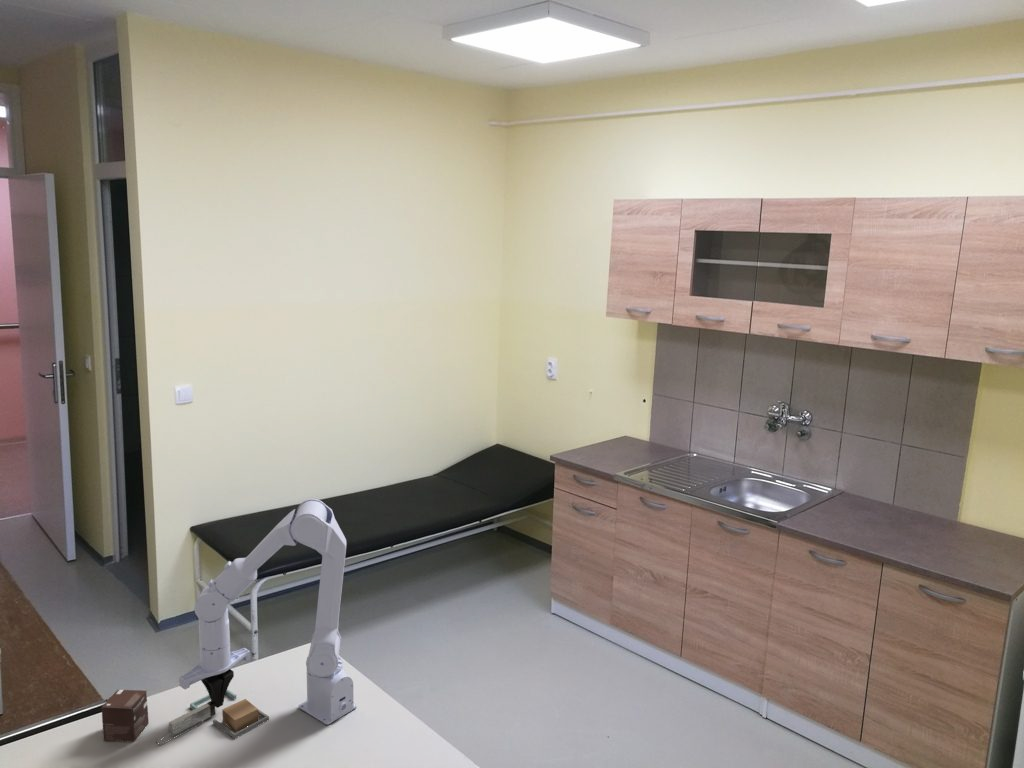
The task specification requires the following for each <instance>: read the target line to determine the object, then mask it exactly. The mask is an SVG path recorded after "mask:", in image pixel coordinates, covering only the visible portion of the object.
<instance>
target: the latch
mask: <svg viewBox="0 0 1024 768" xmlns="http://www.w3.org/2000/svg"><path fill="white" fill-rule="evenodd" d="M215 715H216V707H215V703H214V702H212V701H211V700H210V701H208V702H206V703H205V704H202V705H201V706H199V707H198V708H197V709H194V710H193V709H192V710H190V711H189V712H186V713H185V714H182V715H180V716H178V717H177V718H174V719H172V720H171V721H169V722H168V727H169V729H168V730H169V731H168V732H169V734H171V735H172V736H173V735H175V734H177V733H179V732H181V731H183V730H185V729H187V728H189V727H191V726H193V725H195V724H197V723H199V722H201V721H203V722H204V721H205V720H206V719H209V718H210V717H213V716H215Z"/></svg>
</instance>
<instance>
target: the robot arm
mask: <svg viewBox="0 0 1024 768" xmlns="http://www.w3.org/2000/svg"><path fill="white" fill-rule="evenodd" d="M295 512H296V513H295ZM297 543H299V544H302V545H303V546H306V547H309V548H311V549H313V550H315V551H317V553H319V554H320V555H321V556H322V557H321V558H322V559H321V566H320V578H319V587H318V588H319V589H318V596H317V607H316V616H315V618H316V619H315V627H314V632H313V634H312V636H311V639H310V647H309V650H308V655H307V657H306V661H305V664H306V665H305V666H306V699H307V700H305V701H303V702H301V703H300V704H298V709H300V710H301V711H303V712H305V713H306V714H308V715H310V716H311V717H314V718H315V719H316V720H318V721H320V722H321V723H323V724H324V725H330V724H332V723H334V722H335V721H337V720H338V719H340V718H341V717H343V716H345V715H347V714H348V713H350V712H351V711H353V710H355V709H356V708H357V706H358V705H357V704H356V703H355V702H354V681H353V679H352V678H351V676H349V675H348V674H347V672H346V671H345V670H344V666H343V661H342V660H341V659H342V658H341V656H340V648H341V645H342V636H341V634H340V632H339V626H340V625H339V624H340V621H339V618H340V612H341V611H340V609H341V602H342V601H341V599H342V591H343V582H344V572H345V571H344V570H345V562H346V555H347V554H346V553H347V544H348V543H347V538H346V537H345V535H344V533H343V531H342V529H341V528H340V525H339V524H338V521H337V520H336V518H335V515H334V512H333V509H332V508H331V507H329V506H328V505H327V504H326V503H325V502H323V501H322V500H320V499H317V498H309V499H308V498H307V499H306V500H304V501H302V502H301V503H299V505H298V507H297V509H295V508H294V509H292V511H290V512H289V513H287V515H285V517H283V518H282V519H281V521H279V522H278V523H277V524H276V525H275V526H274V527H273V529H271V531H270V532H269V533H268V534H267V535H266V536H265V537H264V538H263V539H262V540H261V541H260V542H259V543H258V544H257V546H255V548H253V550H252V551H251V552H250V553H249V554H248V555H247V556H246V557H238V558H235V559H234V560H233V561H230V560H228V561H227V562H226V564H225V565H224V566H223V569H224V570H223V571H222V572H221V573H219V575H218V576H217V577H216V578H215V579H213V578H211V579H210V580H209V581H208V583H207V585H206V586H205V587H203V589H202V591H201V592H200V594H199V596H198V598H197V599H196V600H195V604H194V613H195V615H196V617H197V618H198V638H199V640H198V642H199V643H198V644H199V657H200V658H199V661H200V663H198V664H197V665H196V666H194V667H193V668H191V669H190V670H189V671H187V672H185V673H184V674H183V675H180V676H179V678H178V680H179V687H181V688H182V689H184V690H187V689H189V688H190V687H191V686H192V685H193V684H196V683H198V682H200V681H201V683H202V684H203V686H204V687H205V689H206V691H207V693H208V695H209V696H210V699H209V700H210V701H212V702H214V703H215V708H217V709H218V708H220V707H223V705H224V701H225V697H226V695H227V694H226V691H227V689H229V685H230V683H231V681H232V680H233V679H234V676H235V675H234V674H235V673H234V671H233V670H232V669H231V668H233V667H234V666H235V665H236V664H238V663H241V662H243V661H245V662H247V661H249V660H251V651H250V650H249V649H247V648H246V647H243V648H239V649H238V650H233V651H231V636H230V635H231V633H230V619H229V607H228V605H229V604H231V603H233V602H234V601H235V600H237V599H238V598H239V596H241V595H242V594H243V593H244V592H245V591H246V590H247V589H248V588H249V587H250V586H251V585H252V584H253V583H254V582H255V581H256V580H257V578H258V569H259V568H261V566H263V565H264V564H265V563H266V562H267V561H268V560H269V559H270V558H271V557H272V556H274V555H275V554H276V553H277V552H278V551H279V550H280V549H281V548H282V547H284V546H291V547H293V546H294V547H295V546H296V545H297Z"/></svg>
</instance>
